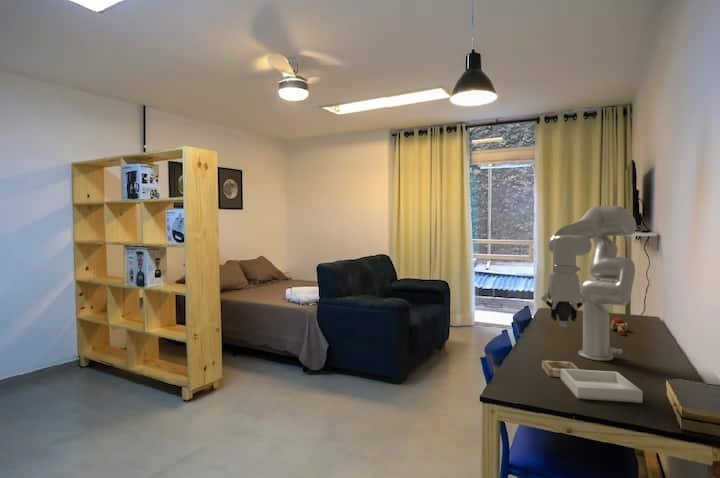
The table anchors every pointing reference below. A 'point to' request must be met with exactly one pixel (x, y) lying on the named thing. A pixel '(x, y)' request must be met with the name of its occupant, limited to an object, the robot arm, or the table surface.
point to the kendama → (619, 326)
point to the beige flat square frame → (556, 367)
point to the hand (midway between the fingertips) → (563, 319)
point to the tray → (600, 385)
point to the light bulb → (563, 312)
